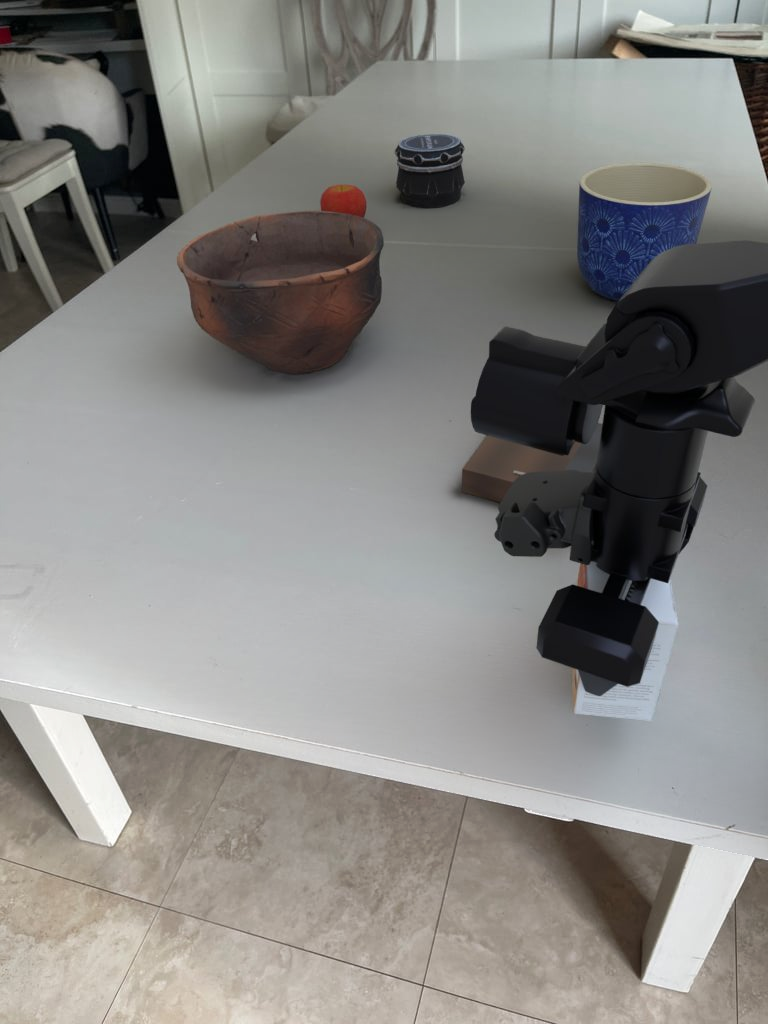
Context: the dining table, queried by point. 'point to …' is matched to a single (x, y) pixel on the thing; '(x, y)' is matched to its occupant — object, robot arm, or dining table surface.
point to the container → (430, 170)
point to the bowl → (286, 286)
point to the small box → (645, 695)
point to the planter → (635, 220)
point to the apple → (344, 200)
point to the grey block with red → (587, 454)
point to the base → (506, 466)
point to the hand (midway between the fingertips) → (612, 645)
